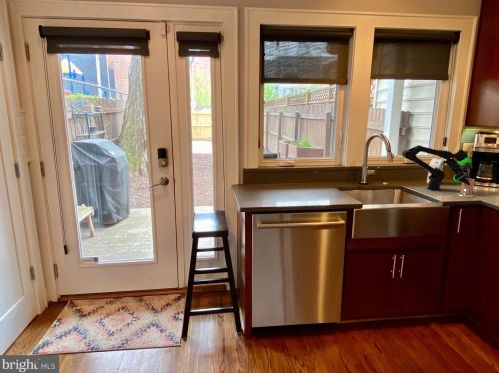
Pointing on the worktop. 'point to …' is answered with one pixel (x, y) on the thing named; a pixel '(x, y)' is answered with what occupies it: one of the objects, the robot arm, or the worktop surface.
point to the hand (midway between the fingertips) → (470, 184)
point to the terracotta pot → (468, 186)
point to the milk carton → (435, 165)
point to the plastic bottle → (463, 164)
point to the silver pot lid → (465, 194)
